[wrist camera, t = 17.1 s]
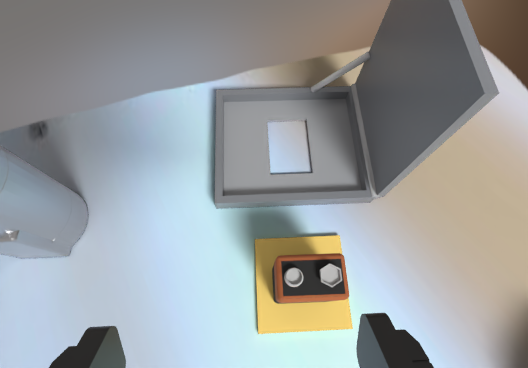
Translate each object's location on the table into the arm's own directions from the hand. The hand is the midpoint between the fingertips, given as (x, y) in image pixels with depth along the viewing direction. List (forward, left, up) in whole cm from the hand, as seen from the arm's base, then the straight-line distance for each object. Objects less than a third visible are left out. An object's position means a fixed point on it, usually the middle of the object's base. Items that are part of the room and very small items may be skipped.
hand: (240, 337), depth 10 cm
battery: (+3, -6, -28) cm, 29 cm away
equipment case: (+23, -6, -29) cm, 37 cm away
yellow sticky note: (+4, -6, -29) cm, 29 cm away
